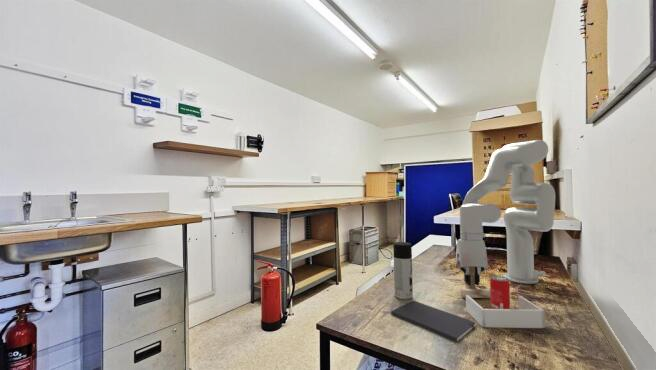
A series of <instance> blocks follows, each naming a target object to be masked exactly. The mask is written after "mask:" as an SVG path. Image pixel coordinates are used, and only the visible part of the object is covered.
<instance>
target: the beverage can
mask: <svg viewBox="0 0 656 370" xmlns="http://www.w3.org/2000/svg"><path fill="white" fill-rule="evenodd" d="M489 287H490V288H489V289H490V298H489V299H490V309H511V301H510V300H511V296H510V294H511V291H510V287H511V286H510V280H508V278H505V277H504V276H501V275H491V276H490V279H489Z"/></svg>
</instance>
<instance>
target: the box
mask: <svg viewBox="0 0 656 370" xmlns="http://www.w3.org/2000/svg"><path fill="white" fill-rule="evenodd" d="M517 301H518V302H517V303H518V305H517V306H518V309H517V308H510V309H491V308H483V307H482V306H481V305H480V304H479V303H477V301H476V300H474V298H471V297H470V296H469V295H466V298H465V311H466V312H467V313H468V314H469V315H470V316H471V317H472V318H473V320H475V321H476V322H477V323H478V324H479V325H480V326H481V327H482V328H502V329H503V328H504V329H505V328H506V329H507V328H508V329H509V328H510V329H511V328H512V329H515V328H516V329H517V328H518V329H519V328H520V329H546V310H545V309H543V308H541V307H539V306H538V305H536V304H534V303H533V302H531V301H530V300H528V299H527V298H525V297H523V296H522V295H517Z"/></svg>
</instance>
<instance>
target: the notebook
mask: <svg viewBox="0 0 656 370" xmlns="http://www.w3.org/2000/svg"><path fill="white" fill-rule="evenodd" d="M390 314H391V316H394V317H396V318H399V319H401V320H404V321H406V322H409V323H410V324H413V325H415V326H418V327H420V328H422V329H425V330H427V331H428V332H432V333H434V334H437V335H439V336H441V337H444V338H446V339H449V340H450V341H453V342H455V343H458V341H459V340H460V339H462V338H463V337H464V336H466V335H467V334H468V333H469V332H470V331H471V330H474V327H475V325H476V322H475V321H473V320H470V319H468V318H466V317H462V316H459V315H456V314H453V313H450V312H447V311H444V310H441V309H439V308H436V307H433V306H430V305H428V304H424V303H422V302H419V301H416V300H411V301H408V302H407V303H404V304H403V305H401V306H399V307H397V308H395V309H393V310H390Z"/></svg>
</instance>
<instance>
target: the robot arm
mask: <svg viewBox="0 0 656 370" xmlns="http://www.w3.org/2000/svg"><path fill="white" fill-rule="evenodd" d="M548 154H549V146H548V144H547V142H546V141H544V140H543V139H535V140H527V141H518V142H512V143H508V144H505V145H504V146H502V148H499V149H496V150H495V151H494V152H493V153H492V154H491V156H490V159H489V163H488V165H487V167H486V171H485V172H484V175H483V178H482V179H481V180H480V181H478V182H477V183H476V184H475V185H474V186H472V187H471V188H470V189H469V191H467V193H466V195H465V196H464V199H463V201H462V205H460V208H459V230H460V231H459V233H460V234H459V235H460V236H459V237H460V238H459V239H457V243H456V251H455V263H454V267H455V269H458V270H460V271H462V273H463V281H464V283H465V285H466V284H467V285H471V276H470V275H469V267H474V269H475V286H479V285H480V281H481V280H480V279H481V275H482V273H483V272H484V271H485V270H487V269H489V268H490V265H489V263H488V256H487V255H488V254H487V247H486V244H485V240H483V238H486V236H487V235H486V233H483V223H487V224H493V223H496V222H498V221H499V220H500V219H501V216H502V211H501V208H500V207H499V206H497V205H496V204H493V203H487V202H486V203H483V202H479V201H481V199H482V198H483V197H485V196H487V195H489V194H491V193H493V192H497V191H498V190H500V189H503V188H505V187H506V186H507V183H508V180H509V178H510V186H509V187H510V188H509V189H510V190H509V199H510V201H511V203H514V204H519V205H529V206H533V205H534V206H536V207H524V206H513V207H508V208H507V209H505V211H504V212H503V220H504V226H505V231H506V258H507V259H506V261H507V264H506V265H507V266H506V267H507V272H504V273H503V274H502V275H503V276H502V277H505V278H508V281H509V282H510V281H511V282H515V283H517V284H518V283H519V284H523V285H524V284H525V285H534V284H535V285H536V284H538V283H539V278H538V277H546V276H547V273H546V272H545V271H544V270H542V271H541V270H540V271H539V270H537V269H535V267H534V266H535V263H534V261H535V258H534V257H535V256H534V238H533V237H532V234H531V233H530V231H534V232H543V233H544V232H546V233H547V232H549V231H550V230H551V229H552V228H553V226H554V221H555V209H556V191H555V188H554V186H553V185H552V184H550V183H548V182H535V180H536V179H535V178H536V177H535V176H536V173H535V169H534V168H533V167H532V165H534V164H537V163H539V162H541V161H542V160H544V159H545V158H546V157H547V155H548ZM510 175H511V177H510Z"/></svg>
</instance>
